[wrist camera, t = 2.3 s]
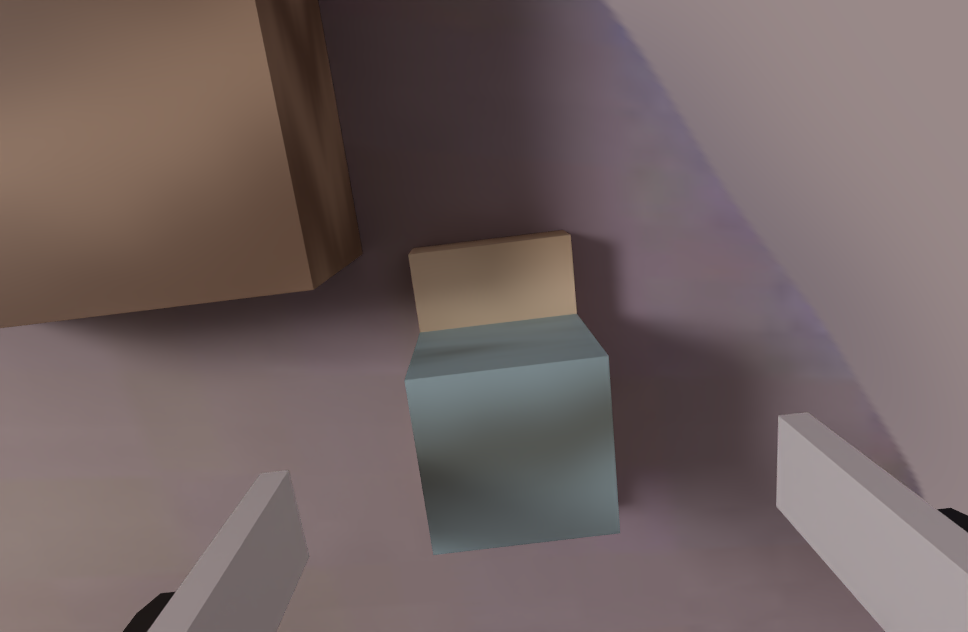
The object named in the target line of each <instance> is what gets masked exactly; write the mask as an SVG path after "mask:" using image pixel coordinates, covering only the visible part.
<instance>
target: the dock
mask: <svg viewBox="0 0 968 632" xmlns="http://www.w3.org/2000/svg"><path fill="white" fill-rule="evenodd" d="M362 254H363V252H362V246H361V241H360V235H359V229H358V224H357V218H356V212H355V207H354V201H353V195H352V190H351V184H350V178H349V173H348V167H347V161H346V156H345V150H344V144H343V139H342V133H341V127H340V122H339V116H338V110H337V105H336V99H335V93H334V88H333V82H332V77H331V71H330V65H329V60H328V54H327V48H326V43H325V37H324V31H323V26H322V20H321V14H320V9H319V3H318V0H0V328H5V327H14V326H22V325H30V324H38V323H46V322H54V321H63V320H71V319H79V318H87V317H95V316H103V315H112V314H120V313H128V312H136V311H144V310H153V309H161V308H169V307H177V306H185V305H193V304H202V303H210V302H218V301H226V300H234V299H242V298H251V297H259V296H267V295H275V294H283V293H291V292H300V291H308V290H314V289H315V288H317V287H318V286H319V285H321V284H322V283H324V282H325V281H326V280H328V279H329V278H330V277H332V276H333V275H335V274H336V273H337V272H339V271H340V270H341V269H343V268H344V267H345V266H347V265H348V264H350V263H351V262H352V261H354V260H355V259H356V258H358V257H359V256H360V255H362Z"/></svg>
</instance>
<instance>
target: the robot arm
mask: <svg viewBox="0 0 968 632" xmlns="http://www.w3.org/2000/svg"><path fill="white" fill-rule="evenodd" d="M776 507H777V508H778V509H779V510H780V511H781V512H782V513H783V515H784V516H785V517H786V518H787V519H788V520H789V521H790V523H791V524H792V525H793V526H794V527H795V528H796V529H797V531H798V532H799V533H800V534H801V535H802V536H803V538H804V539H805V540H806V541H807V542H808V543H809V544H810V546H811V547H812V548H813V549H814V550H815V551H816V552H817V554H818V555H819V556H820V557H821V558H822V559H823V561H824V562H825V563H826V564H827V565H828V566H829V567H830V569H831V570H832V571H833V572H834V573H835V574H836V575H837V577H838V578H839V579H840V580H841V581H842V582H843V584H844V585H845V586H846V587H847V588H848V589H849V590H850V592H851V593H852V594H853V595H854V596H855V597H856V598H857V600H858V601H859V602H860V603H861V604H862V605H863V606H864V608H865V609H866V610H867V611H868V612H869V613H870V615H871V616H872V617H873V618H874V619H875V620H876V621H877V623H878V624H879V625H880V626H881V627H882V628H883V629H884V631H885V632H968V516H967V515H965V514H963V513H960V512H959V511H956V510H954V509H952V508H946V509H936V508H934V507H932V506H931V505H930V504H929V503H928V502H926V501H925V500H924V499H922V498H921V497H920V496H918V495H917V494H916V493H914V492H913V491H912V490H910V489H909V488H908V487H906V486H905V485H904V484H902V483H901V482H900V481H898V480H897V479H896V478H894V477H893V476H892V475H890V474H889V473H888V472H886V471H885V470H884V469H882V468H881V467H880V466H878V465H877V464H876V463H874V462H873V461H872V460H870V459H869V458H868V457H866V456H865V455H864V454H862V453H861V452H860V451H858V450H857V449H856V448H854V447H853V446H852V445H850V444H849V443H848V442H846V441H845V440H844V439H842V438H841V437H840V436H838V435H837V434H836V433H834V432H833V431H832V430H830V429H829V428H828V427H826V426H825V425H824V424H823V423H821V422H820V421H819V420H817V419H816V418H815V417H813V416H812V415H811V414H809V413H808V412H806V413H797V414H788V415H779V416H778V453H777V496H776ZM308 558H309V553H308V548H307V544H306V540H305V536H304V532H303V528H302V523H301V519H300V515H299V511H298V507H297V503H296V498H295V494H294V490H293V486H292V482H291V478H290V473H289V470H284V471H275V472H266V473H261V474H260V475H259V476H258V478H257V479H256V481H255V482H254V483H253V485H252V486H251V488H250V489H249V490H248V492H247V493H246V494H245V496H244V497H243V499H242V500H241V501H240V503H239V504H238V506H237V507H236V508H235V510H234V511H233V513H232V514H231V515H230V517H229V518H228V520H227V521H226V522H225V524H224V525H223V527H222V528H221V529H220V531H219V532H218V534H217V535H216V536H215V538H214V539H213V541H212V542H211V543H210V545H209V546H208V548H207V549H206V550H205V552H204V553H203V555H202V556H201V557H200V559H199V560H198V562H197V563H196V564H195V566H194V567H193V568H192V570H191V571H190V573H189V574H188V575H187V577H186V578H185V580H184V581H183V582H182V584H181V585H180V587H179V588H178V589H177V591H176V592H170V593H161V594H159V595H158V596H157V597H156V598H155V599H153V600H152V601H151V602H150V603H149V604H147V605H146V606H145V607H144V608H143V609H141V610H140V611H139V612H138V613H137V614H136V615H135V616H134V618H133V619H132V620H131V622H130V623H129V624H128V625H127V627H126V628H125V629H124V631H123V632H276V631H277V629H278V627H279V624H280V622H281V620H282V617H283V615H284V613H285V611H286V608H287V606H288V604H289V601H290V599H291V597H292V595H293V592H294V590H295V588H296V586H297V583H298V581H299V579H300V576H301V574H302V572H303V570H304V567H305V565H306V563H307V560H308Z"/></svg>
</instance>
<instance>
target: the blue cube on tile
mask: <svg viewBox="0 0 968 632" xmlns="http://www.w3.org/2000/svg"><path fill="white" fill-rule="evenodd" d="M408 258H409V264H410V271H411V277H412V283H413V290H414V296H415V303H416V309H417V316H418V322H419V329H420V334H419V337H418V340H417V344H416V347H415V350H414V353H413V356H412V359H411V362H410V365H409V368H408V371H407V374H406V377H405V386H406V392H407V398H408V404H409V410H410V416H411V422H412V429H413V435H414V441H415V447H416V453H417V459H418V465H419V471H420V477H421V483H422V489H423V495H424V501H425V507H426V513H427V519H428V525H429V531H430V537H431V543H432V549H433V555H437V554H446V553H454V552H463V551H471V550H480V549H489V548H497V547H506V546H514V545H523V544H531V543H540V542H548V541H557V540H566V539H574V538H583V537H591V536H600V535H608V534H617V533H620V524H619V509H618V494H617V478H616V463H615V448H614V432H613V417H612V401H611V386H610V371H609V356H608V354H607V353H606V352H605V350H604V349H603V348H602V346H601V345H600V344H599V342H598V341H597V340H596V338H595V337H594V336H593V334H592V333H591V332H590V331H589V329H588V328H587V327H586V325H585V324H584V323H583V321H582V320H581V319H580V317H579V316H578V315H577V310H576V297H575V284H574V272H573V259H572V246H571V235H570V234H569V233H567V232H565V231H564V230H558V231H550V232H542V233H534V234H526V235H517V236H509V237H501V238H493V239H485V240H476V241H468V242H460V243H452V244H444V245H435V246H427V247H419V248H413V249H412V250H411V251H410V253H409V254H408Z"/></svg>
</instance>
